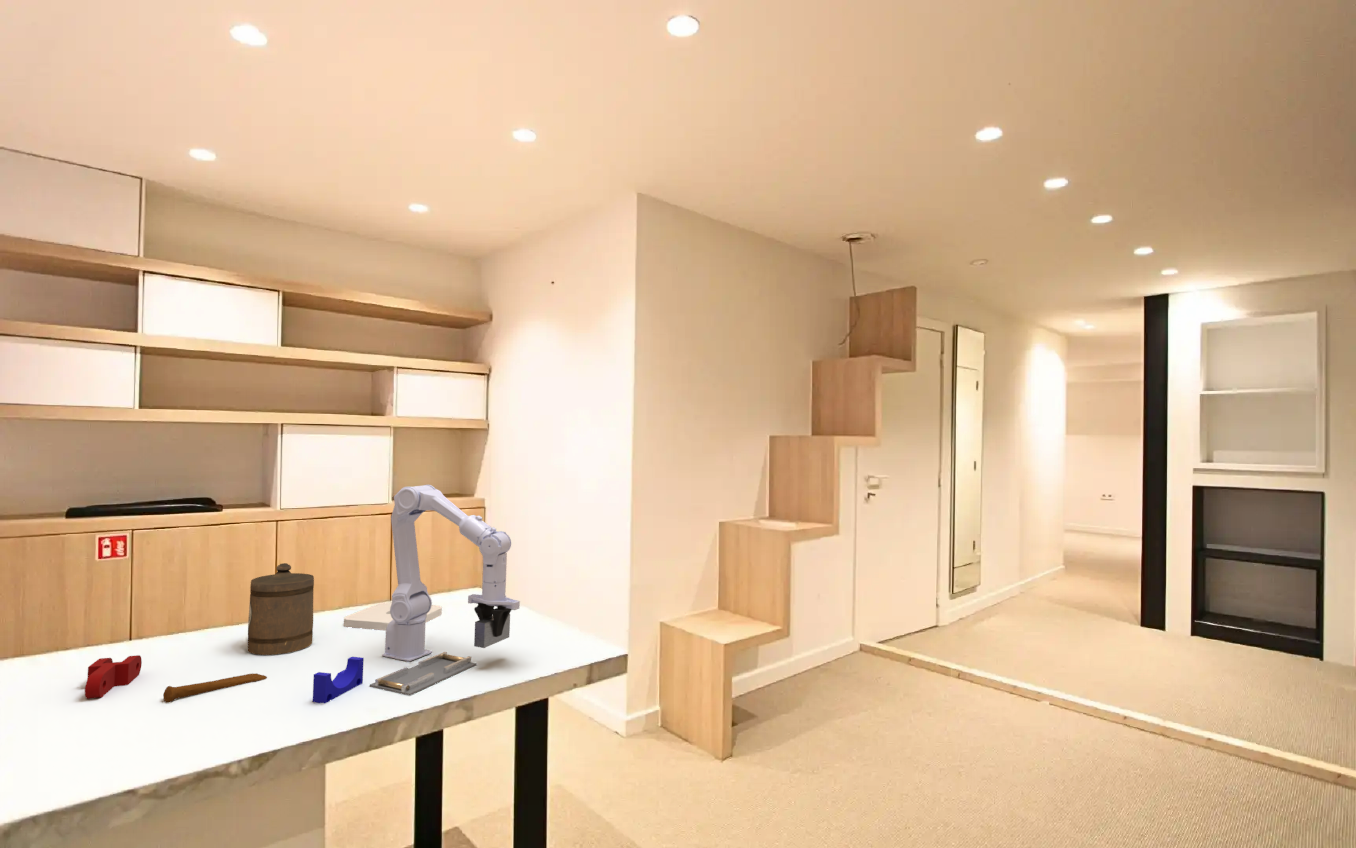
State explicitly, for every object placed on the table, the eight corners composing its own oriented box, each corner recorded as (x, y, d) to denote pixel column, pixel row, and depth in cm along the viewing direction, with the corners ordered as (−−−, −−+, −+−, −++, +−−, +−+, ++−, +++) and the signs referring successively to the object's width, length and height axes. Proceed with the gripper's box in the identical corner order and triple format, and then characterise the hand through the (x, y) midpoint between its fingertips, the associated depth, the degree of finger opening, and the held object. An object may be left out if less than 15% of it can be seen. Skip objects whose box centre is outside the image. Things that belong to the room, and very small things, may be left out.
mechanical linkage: (102, 677, 150) (103, 655, 150) (141, 674, 153) (142, 652, 153) (69, 704, 135) (70, 679, 136) (112, 699, 138) (114, 675, 138)
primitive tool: (256, 675, 155) (257, 660, 155) (269, 680, 152) (269, 665, 152) (159, 702, 138) (160, 685, 138) (171, 708, 135) (172, 691, 135)
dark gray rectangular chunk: (474, 646, 161) (475, 621, 161) (499, 635, 170) (500, 612, 170) (484, 648, 160) (484, 623, 160) (509, 637, 169) (510, 614, 169)
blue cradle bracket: (345, 682, 151) (346, 656, 151) (362, 684, 150) (363, 657, 150) (306, 702, 139) (307, 673, 140) (324, 704, 139) (325, 675, 139)
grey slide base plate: (369, 686, 148) (369, 684, 148) (439, 657, 169) (439, 656, 169) (409, 695, 144) (410, 693, 144) (476, 665, 164) (476, 663, 164)
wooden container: (276, 636, 183) (279, 557, 183) (324, 640, 180) (327, 560, 181) (232, 653, 168) (236, 567, 168) (285, 658, 166) (288, 570, 166)
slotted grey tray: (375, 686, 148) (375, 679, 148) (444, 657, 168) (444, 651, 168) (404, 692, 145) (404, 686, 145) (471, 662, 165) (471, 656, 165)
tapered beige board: (338, 628, 193) (338, 618, 193) (383, 609, 215) (384, 601, 215) (406, 633, 190) (406, 624, 190) (445, 614, 211) (445, 605, 212)
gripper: (527, 581, 166) (525, 634, 166) (481, 574, 172) (479, 627, 172) (510, 586, 160) (508, 642, 159) (463, 579, 165) (461, 634, 165)
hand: (492, 634), depth 165 cm, fingers closed on dark gray rectangular chunk, 3 cm apart
